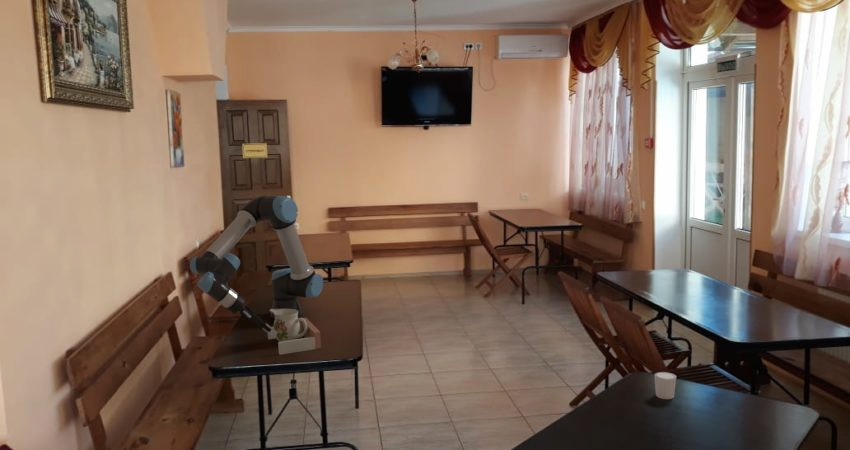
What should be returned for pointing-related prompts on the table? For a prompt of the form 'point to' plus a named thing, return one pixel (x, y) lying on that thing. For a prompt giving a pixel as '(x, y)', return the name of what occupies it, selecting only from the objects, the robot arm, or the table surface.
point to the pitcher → (287, 324)
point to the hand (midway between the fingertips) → (275, 334)
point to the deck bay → (301, 340)
